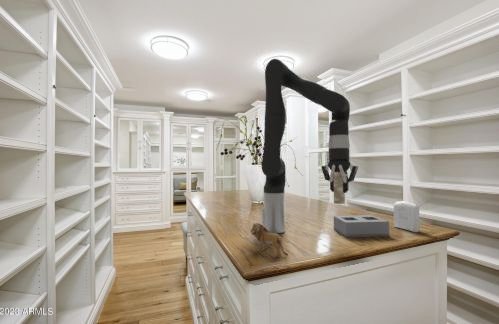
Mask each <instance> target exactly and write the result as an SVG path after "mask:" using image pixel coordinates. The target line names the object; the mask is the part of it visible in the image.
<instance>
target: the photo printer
mask: <svg viewBox="0 0 499 324" xmlns="http://www.w3.org/2000/svg"><path fill="white" fill-rule="evenodd" d="M393 227H395V228H397V229H403V230H406V231H409V232H410V231H411V232H413V233H419V232H420V207H419V205H418V204H415V203H414V202H410V201H403V200H402V201H396V202H394V203H393Z"/></svg>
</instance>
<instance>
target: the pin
mask: <svg viewBox="0 0 499 324" xmlns="http://www.w3.org/2000/svg"><path fill="white" fill-rule="evenodd" d="M343 183H344V181H343V178H342V176H341V172H334V192H333V204H336V205H337V204H339V205H344V204H346V193H343Z"/></svg>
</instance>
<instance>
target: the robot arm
mask: <svg viewBox="0 0 499 324" xmlns="http://www.w3.org/2000/svg"><path fill="white" fill-rule="evenodd" d="M264 80H265V83H264V84H265V104H264V105H265V111H264V135H263V137H264V139H263V140H264V143H263V153H262V158H261V159H262V160H261V171H262V173H263V175H264V176H265V183H264V185H263V209H261V212H262V213H261V221H262V222H261V225H263V226H264V227H265V228H266V229H267V231H268V232H269V233H276V234H281V233H284V232H285V231H286V223H285V219H286V216H285V215H286V214H285V213H286V212H285V211H286V210H285V208H286V207H285V205H286V204H285V188H286V164H285V161H284V159H282V158H281V146H282V145H281V144H282V142H283V141H282V140H283V137H284V134H285V129H286V115H287V114H286V108H285V103H284V98H283V93H282V87H284V88H288V89H290V90H293V91H294V92H296V93H298V94H299V95H301V96H302V97H304V98H305V99H307V100H309V101H310V102H312V103H314V104H316V105H319V106H321V107H323V108H324V109H326V110H327V111H329V112H330V113H331V122H329V126H328V127H329V128H328V129H329V130H328V132H329V133H328V136H329V137H328V163H327V164H326V165H322V166H321V171H322V173H323V176H324V180H325V181H328V182H329V190H330V191H331V193H332V192H333V193H334V172H341V176H342V178H343V181H344V183H343V193H345V194H346V193H348V192H349V187H350V186H349V183H350V182H354V181H355V177H356V175H357V173H358V169H359V166H357V165H354V164H351V161H350V159H351V157H350V146H351V145H350V136H349V120H350V111H351V106H350V102H349V100H348V99H347V98H346V97H345V96H344V95H343V94H342V93H340V92H339V93H338V92H337V91H334V90H331V89H328V88H327V87H325V86H323V85H321V84H320V83H318V82H316V81H313V80H311V79H307V78H304V77H302V76H300V75H298V74H297V73H295V72H294V71H293V70H291V69H290V68H289V67H288V65H287V64H285V62H283V61H282V60H280V59H278V58H272V59H270V61H268V63H267V64H266V65H265V70H264ZM349 169H350V174H349V173H348V170H349ZM329 170H330V172H329Z"/></svg>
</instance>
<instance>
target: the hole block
mask: <svg viewBox="0 0 499 324" xmlns="http://www.w3.org/2000/svg"><path fill="white" fill-rule="evenodd" d="M333 230H334V231H336V232H338V233H339V234H340V235H342V236H343V237H345V238H366V237H367V238H368V237H369V238H373V237H390V220H389V221H388V220H386V219H383V218H381V217H378V216H375V215H373V214H367V215H366V214H365V215H334V216H333Z"/></svg>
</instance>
